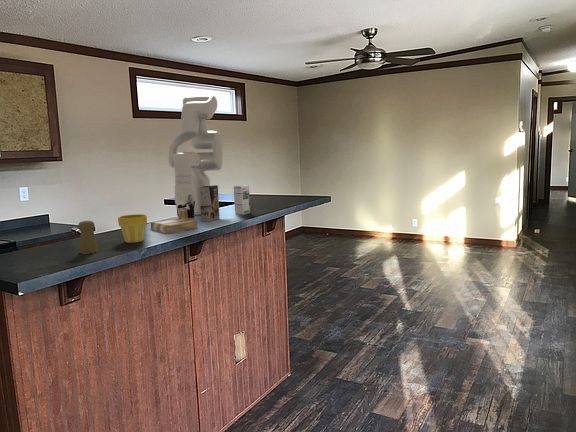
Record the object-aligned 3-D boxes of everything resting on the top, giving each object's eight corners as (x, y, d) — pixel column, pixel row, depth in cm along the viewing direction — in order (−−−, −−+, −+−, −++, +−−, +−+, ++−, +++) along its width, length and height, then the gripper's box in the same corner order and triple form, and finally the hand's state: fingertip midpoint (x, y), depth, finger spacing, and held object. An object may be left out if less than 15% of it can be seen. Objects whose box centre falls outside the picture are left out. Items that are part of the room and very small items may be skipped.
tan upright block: (178, 223, 221) (177, 208, 220) (188, 221, 225) (187, 207, 224) (184, 224, 217) (183, 209, 216) (194, 223, 221) (193, 208, 220)
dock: (150, 228, 209) (149, 221, 209) (179, 224, 218) (178, 217, 217) (167, 233, 197) (167, 225, 196) (197, 228, 206) (197, 221, 205)
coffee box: (213, 221, 224) (211, 186, 222) (200, 221, 226) (198, 187, 223) (220, 218, 233) (218, 185, 231) (207, 217, 234) (205, 185, 232)
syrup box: (243, 214, 241) (241, 186, 239) (234, 213, 245) (233, 185, 242) (250, 213, 246) (249, 185, 243) (242, 212, 249) (240, 184, 247)
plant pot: (128, 238, 189) (126, 213, 188) (153, 238, 188) (151, 213, 186) (114, 243, 179) (112, 218, 178) (140, 244, 177) (138, 218, 176)
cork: (101, 251, 167) (98, 220, 165) (84, 254, 162) (81, 223, 161) (93, 249, 171) (90, 219, 169) (76, 252, 166) (73, 221, 165)
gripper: (167, 179, 222) (169, 216, 224) (185, 181, 209) (187, 219, 211) (181, 178, 227) (183, 214, 229) (200, 180, 214) (202, 217, 216)
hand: (185, 217), depth 220 cm, fingers open, 9 cm apart
